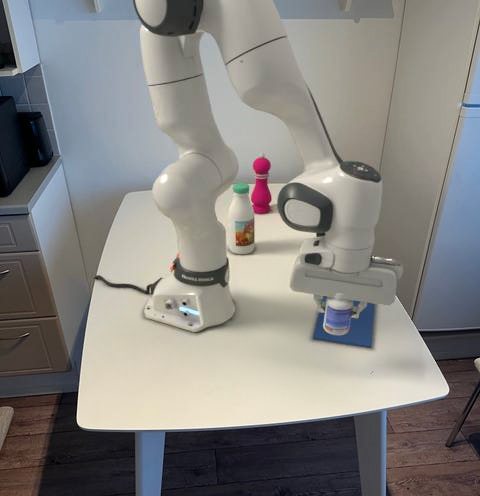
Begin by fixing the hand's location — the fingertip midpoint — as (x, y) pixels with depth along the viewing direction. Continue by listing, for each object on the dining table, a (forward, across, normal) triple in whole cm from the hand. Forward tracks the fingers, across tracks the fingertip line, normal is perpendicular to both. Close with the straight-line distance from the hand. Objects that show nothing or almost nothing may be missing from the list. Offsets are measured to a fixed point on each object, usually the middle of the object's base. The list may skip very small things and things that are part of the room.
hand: (337, 313), depth 99 cm
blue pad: (+13, -2, -17) cm, 21 cm away
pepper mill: (+14, +33, -76) cm, 84 cm away
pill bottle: (+4, 0, 0) cm, 4 cm away
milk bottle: (+14, +32, -46) cm, 58 cm away
